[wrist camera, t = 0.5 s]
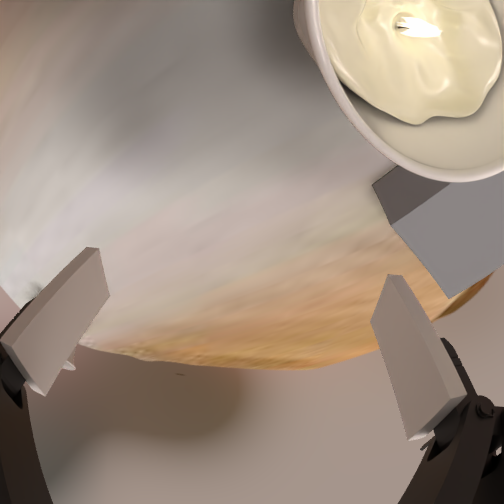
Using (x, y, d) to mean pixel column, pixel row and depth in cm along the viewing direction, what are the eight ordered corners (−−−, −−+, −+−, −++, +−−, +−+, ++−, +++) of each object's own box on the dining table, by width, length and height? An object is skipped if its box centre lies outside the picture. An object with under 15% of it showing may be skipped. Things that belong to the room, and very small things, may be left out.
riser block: (372, 185, 21) (390, 225, 18) (500, 86, 12) (538, 111, 9) (435, 265, 29) (448, 299, 25) (528, 198, 19) (550, 228, 16)
